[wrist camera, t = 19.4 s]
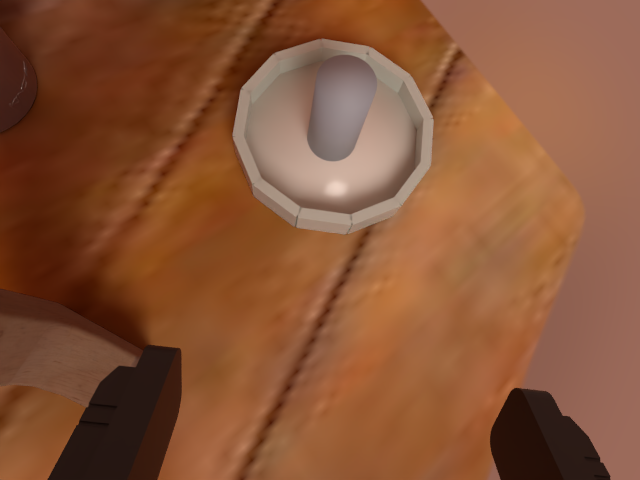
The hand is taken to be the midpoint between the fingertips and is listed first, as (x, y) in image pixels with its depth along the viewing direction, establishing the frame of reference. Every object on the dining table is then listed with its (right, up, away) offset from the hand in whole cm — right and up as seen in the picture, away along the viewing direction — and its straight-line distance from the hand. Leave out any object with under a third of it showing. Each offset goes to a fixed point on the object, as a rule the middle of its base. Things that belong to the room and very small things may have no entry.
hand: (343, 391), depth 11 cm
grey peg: (0, +13, +31) cm, 33 cm away
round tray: (0, +13, +32) cm, 34 cm away
